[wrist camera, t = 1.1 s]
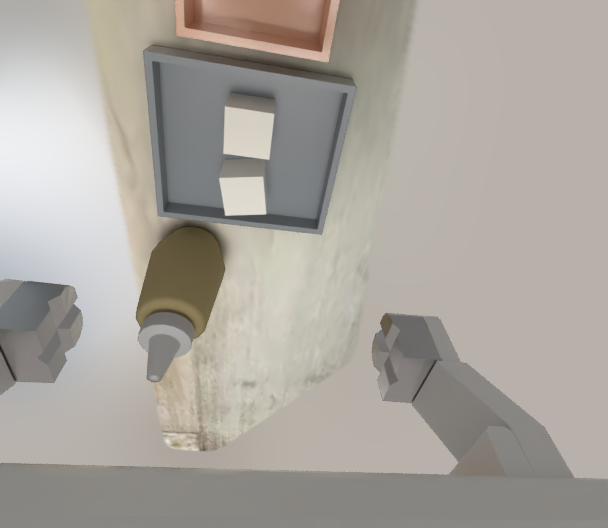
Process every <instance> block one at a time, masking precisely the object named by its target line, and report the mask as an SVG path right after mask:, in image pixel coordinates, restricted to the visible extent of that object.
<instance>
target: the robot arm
mask: <svg viewBox="0 0 608 528" xmlns="http://www.w3.org/2000/svg"><path fill="white" fill-rule="evenodd" d="M76 299H77V294H76V291H75V288H74V287H72V286H69V285H61V284H52V283H43V282H33V281H19V280H11V279H4V280H2V281H0V395H1V394H2V393H4V392H5V391H6V390H8V389H9V388H10V387H12V386H13V385H14V384H15V382H42V383H54V382H55V380H56V379H57V377H58V375H59V373H60V371H61V370H62V368H63V366H64V365H65V363H66V361H67V360H66V356H65V352H66V351H68V350H70V349H71V348H73V347H74V346H75V345H76V343H77V341H78V339H79V337H80V334H81V330H82V325H83V322H82V313H81V310H80V309H79V308H77V307H76V306H75V305H74V302H75V301H76ZM380 324H381V328H382V330H380V331H379V332H378V333H376V334H375V337H374V340H373V345H372V359H373V364H374V367H375V368H376V369H377V370H378V371H379V372H380V375H379V377H378V380H377V381H378V384H379V388H380V393H381V397H382V400H383V401H393V402H405V403H412V406H413V407H414V408H415V409H416V410H417V412H418V413H419V414H420V415H421V416H422V418H423V419H424V420H425V421H426V423H427V424H428V425H429V426H430V428H431V429H432V430H433V431H434V432H435V434H436V435H437V436H438V437H439V438H440V440H441V441H442V442H443V443H444V445H445V446H446V447H447V448H448V450H449V451H450V452H451V453H452V455H453V456H454V457H455V458H456V459H457V461H458V462H459V463H458V464H457V465H456V467H455V468H454V469H453V470H452V471H451V472H450V474H449V475H438V474H401V473H363V472H362V473H361V472H326V471H325V472H323V471H289V470H287V471H286V470H251V469H212V468H172V467H133V466H95V465H94V466H93V465H58V464H20V463H0V528H608V479H587V478H574V477H573V475H572V473H571V471H570V470H569V468H568V466H567V464H566V463H565V461H564V460H563V458H562V456H561V454H560V453H559V451H558V449H557V447H556V446H555V444H554V442H553V441H552V439H551V437H550V435H549V434H548V432H547V430H546V429H545V427H544V426H542V425H541V424H540V423H539V422H538V421H536V420H535V419H534V418H533V417H531V416H530V415H529V414H528V413H526V412H525V411H524V410H523V409H522V408H520V407H519V406H518V405H517V404H516V403H514V402H513V401H512V400H511V399H509V398H508V397H507V396H506V395H505V394H503V393H502V392H501V391H500V390H499V389H497V388H496V387H495V386H494V385H493V384H491V383H490V382H489V381H487V380H486V379H485V378H484V377H483V376H481V375H480V374H479V373H478V372H477V371H476V370H474V369H473V368H472V367H470V366H469V365H468V364H467V363H462V362H461V361H460V359H459V357H458V355H457V353H456V351H455V349H454V347H453V345H452V342H451V340H450V338H449V336H448V334H447V332H446V330H445V328H444V326H443V324H442V322H441V320H440V319H439V318H438V317H434V316H418V315H405V314H392V313H386V314H385V315H384V316H383V317H382V320H381V322H380Z"/></svg>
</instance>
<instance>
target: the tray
mask: <svg viewBox="0 0 608 528" xmlns="http://www.w3.org/2000/svg"><path fill="white" fill-rule="evenodd" d="M143 55H144V66H145V77H146V88H147V99H148V110H149V122H150V133H151V144H152V155H153V166H154V177H155V189H156V200H157V211H158V216H160V217H169V218H178V219H187V220H196V221H205V222H214V223H222V224H231V225H240V226H249V227H258V228H267V229H276V230H285V231H294V232H302V233H311V234H320V235H322V232H323V228H324V224H325V219H326V215H327V211H328V207H329V202H330V198H331V194H332V190H333V185H334V181H335V177H336V172H337V168H338V164H339V160H340V155H341V151H342V147H343V143H344V138H345V134H346V130H347V126H348V121H349V117H350V113H351V109H352V104H353V100H354V96H355V92H356V85H355V83H354V81H353V80H352V79H348V78H342V77H337V76H331V75H325V74H319V73H313V72H307V71H302V70H296V69H290V68H284V67H278V66H272V65H267V64H261V63H255V62H249V61H243V60H237V59H232V58H226V57H220V56H214V55H208V54H202V53H197V52H191V51H185V50H179V49H173V48H167V47H162V46H156V45H151V46H150V47H148V48H147V49H145V50H144V51H143ZM230 92H231V93H237V94H243V95H249V96H256V97H262V98H268V99H274V100H275V113H274V122H273V131H272V140H271V149H270V158H269V160H266V159H265V167H266V180H267V192H268V197H267V213H266V214H263V215H232V216H225V211H224V205H223V199H222V193H221V187H220V181H219V176H220V173H221V169H222V166H223V162H224V160H228V159H259V158H252V157H245V156H237V155H230V154H223V149H224V118H225V105H226V102H227V100H228V97H229V94H230Z"/></svg>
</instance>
